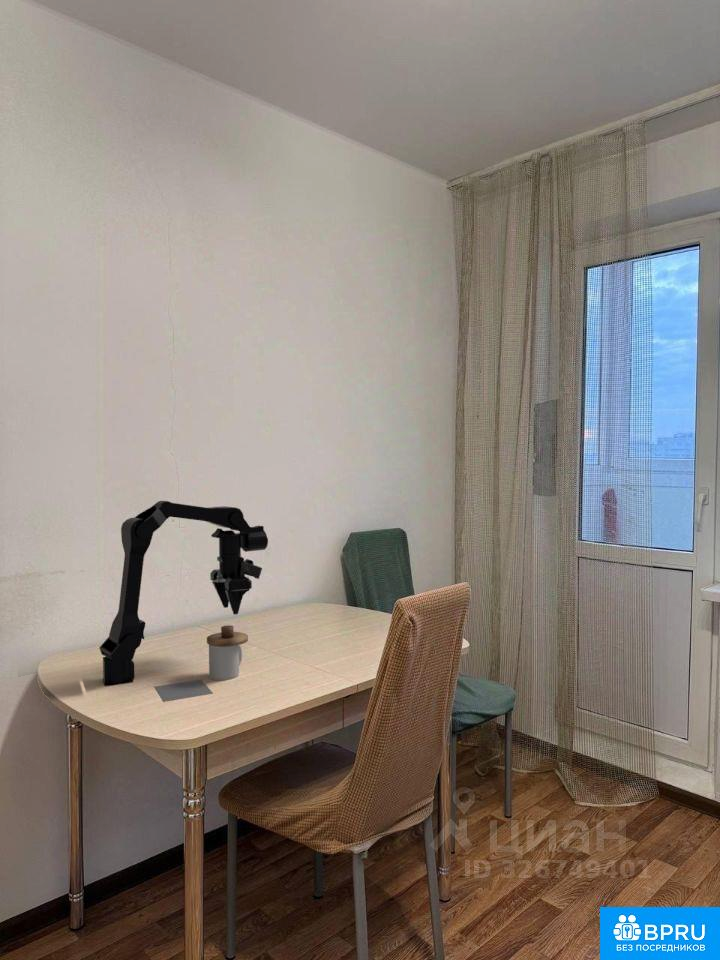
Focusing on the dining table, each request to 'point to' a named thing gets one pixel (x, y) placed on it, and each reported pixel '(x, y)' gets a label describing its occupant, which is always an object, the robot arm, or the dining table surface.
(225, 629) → the lid
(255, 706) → the dining table surface
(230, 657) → the cup
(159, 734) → the dining table surface
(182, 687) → the mat
